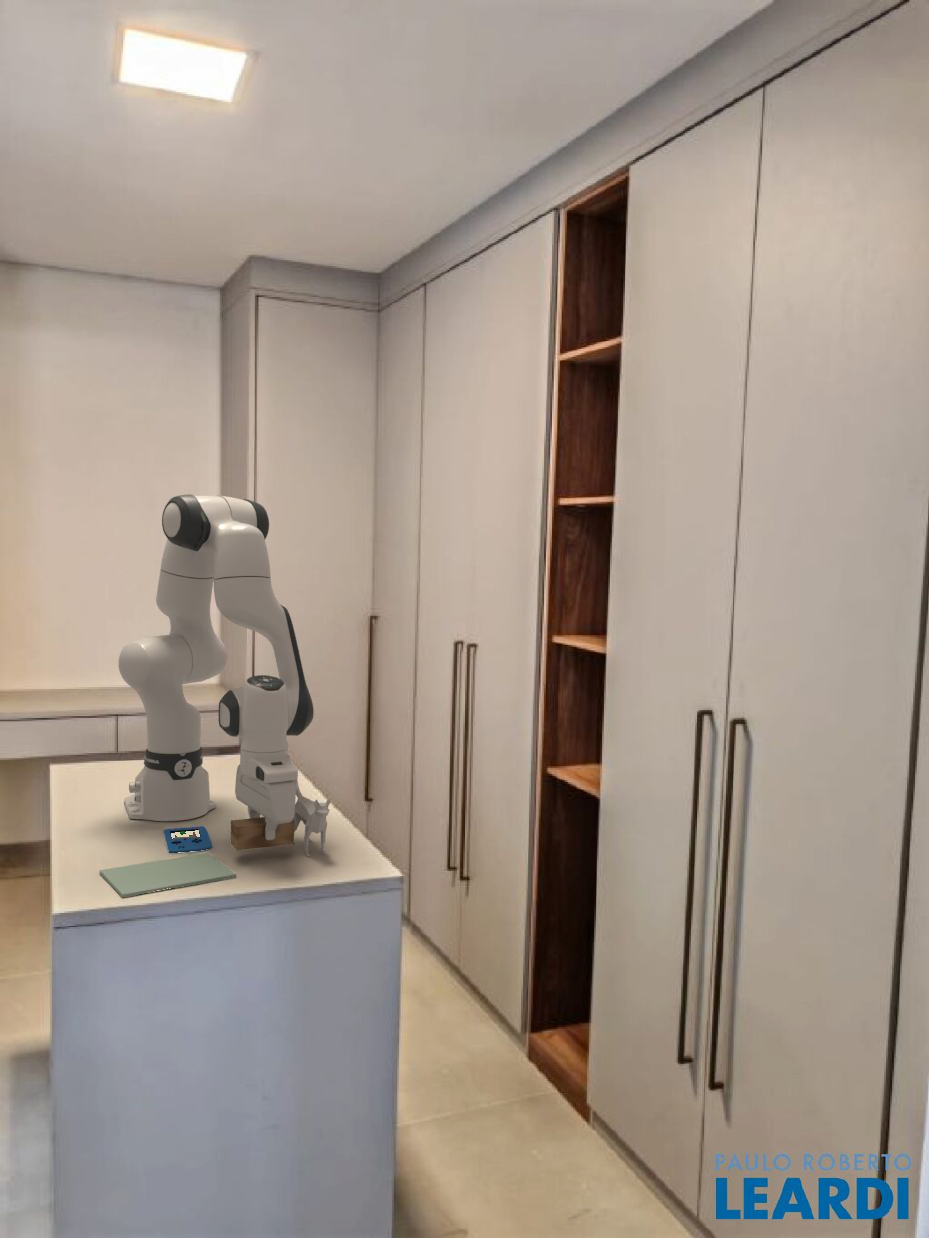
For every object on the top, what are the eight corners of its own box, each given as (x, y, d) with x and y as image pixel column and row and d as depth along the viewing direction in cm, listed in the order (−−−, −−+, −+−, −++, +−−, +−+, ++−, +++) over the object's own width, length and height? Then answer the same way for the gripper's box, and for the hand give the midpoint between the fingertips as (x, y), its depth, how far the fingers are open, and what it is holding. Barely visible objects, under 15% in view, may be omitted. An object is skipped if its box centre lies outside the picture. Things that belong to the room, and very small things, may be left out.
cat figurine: (313, 863, 189) (314, 789, 188) (280, 834, 207) (280, 766, 205) (335, 860, 191) (336, 787, 190) (300, 831, 209) (301, 764, 207)
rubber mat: (99, 873, 180) (99, 870, 180) (207, 855, 192) (207, 852, 192) (122, 897, 169) (122, 894, 169) (236, 877, 180) (236, 874, 180)
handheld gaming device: (169, 849, 192) (163, 827, 206) (169, 855, 192) (163, 833, 206) (213, 846, 195) (205, 824, 209) (213, 851, 195) (205, 829, 209)
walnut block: (236, 850, 187) (236, 826, 187) (230, 843, 191) (230, 819, 191) (293, 844, 192) (294, 820, 192) (286, 837, 196) (287, 813, 196)
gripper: (227, 752, 197) (226, 822, 198) (269, 776, 180) (268, 852, 182) (258, 749, 201) (256, 817, 202) (302, 772, 184) (300, 846, 185)
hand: (262, 834), depth 192 cm, fingers closed on walnut block, 5 cm apart
